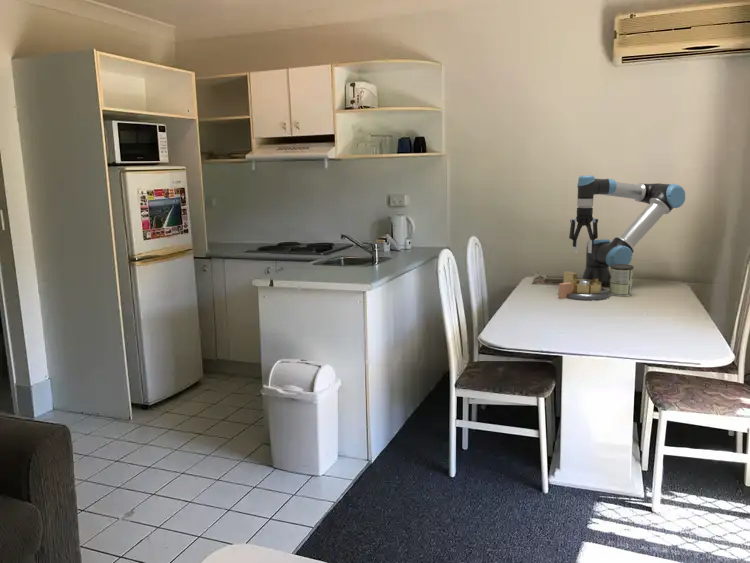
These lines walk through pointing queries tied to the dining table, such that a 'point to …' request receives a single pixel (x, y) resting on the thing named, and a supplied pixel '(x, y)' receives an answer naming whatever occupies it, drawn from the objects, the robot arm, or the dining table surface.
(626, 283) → the coffee can
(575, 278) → the gold octagonal ring
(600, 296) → the plate
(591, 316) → the dining table surface
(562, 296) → the block
